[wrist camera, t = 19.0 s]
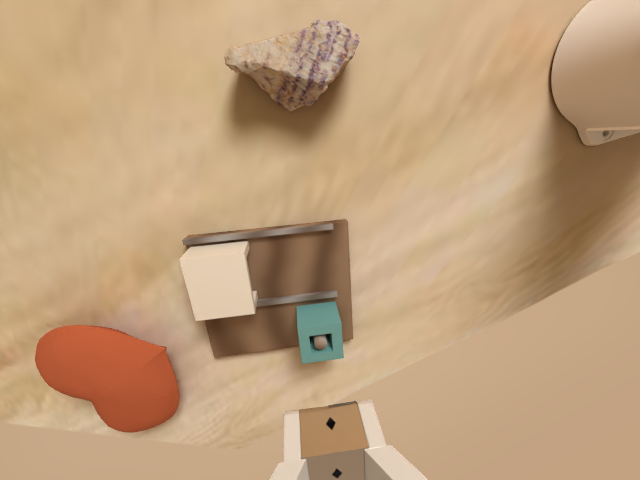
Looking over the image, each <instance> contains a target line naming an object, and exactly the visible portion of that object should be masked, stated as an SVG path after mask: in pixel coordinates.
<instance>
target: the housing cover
mask: <svg viewBox="0 0 640 480" xmlns="http://www.w3.org/2000/svg"><path fill="white" fill-rule="evenodd" d="M249 249H250V248H249V242H248V241H242V242H233V243H223V244H214V245H204V246H195V247H190V248H189V249H188V250H187V251H186V252H185V254H184V255H183V256H182V257H181V258H180V259H179V260H180V264H181V268H182V272H183V275H184V279H185V283H186V287H187V291H188V294H189V298H190V302H191V306H192V309H193V313H194V317H195V321H201V320H209V319H217V318H225V317H233V316H241V315H249V314H255V311H256V305H257V300H258V295H257V291H252V286H251V281H250V275H249V269H248V264H247V255H248V252H249Z"/></svg>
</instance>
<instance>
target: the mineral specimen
mask: <svg viewBox="0 0 640 480" xmlns="http://www.w3.org/2000/svg"><path fill="white" fill-rule="evenodd" d="M358 44H359V37H358V35H357V34H355V33H353V32H352V31H350V30H349V29H348V28H347V27H346V26H345V25H344V24H342V23H341V22H339V21H330V22H325V21H321V20H316V21H315V20H314V22H313V23H312V24H311V27H307V28H305V29H302V30H299V31H296V32H293V33H289V34H286V35H283V36H280V37H278V38H275V37H274V38H271V39H267V40H265V41H262V42H255V43H250V44H246V45H244V46H243V47H237V46H236V47H235V46H232V45H230V46H229V48H228V50H227V51H226V54H225V64H226V65H227V66H228V67H229V68H230V69H231V70H234V71H235V72H244V73H245V74H247V75H248V76H251V77H252V79H253V80H254V81H255V82H256V83H257V84H258V86H259V87H260V88H261V89H262V90H264V91H265V92H268V94H269V95H270V97H271V98H272V99H273V100H274V101H275V102H276V103H277V104H279V105H281V106H283V107H285V108H286V109H288V110H289V111H294V110H296V109H298V108H300V107H302V106H304V105H305V106H311V105H313V104H314V103H315V102H316V101H317V99H318V97H319V95H321V93H322V92H325V91H326V90H327V88H328V87H327V86H328V85H329V84H330V83H331V82H333V81H334V80H335V79H336V78H337V76H338V75H339V74H340V73H341V72H342V71H343V69H344V68H345V67H346V65H347V64H348V63H349V61H350V60H351V59H352V58H353V55H354V53H355V50H356V48H357V46H358Z"/></svg>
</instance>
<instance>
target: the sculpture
mask: <svg viewBox="0 0 640 480" xmlns="http://www.w3.org/2000/svg"><path fill="white" fill-rule="evenodd" d="M35 362H36V366H37V368H38V370H39V372H40V374H41V376H42V378H43V379H44V380H45V382H46V383H47V384H48V385H49V386H50V387H52V388H54V389H55V390H57V391H59V392H61V393H63V394H66V395H69V396H71V397H76V398H80V399H85V400H89V401H91V402H92V404H93V405H94V407H95V409H96V411H97V413H98V415H99V416H100V417H101V419H102V420H103V421H104V422H105V423H106V424H107V425H108V426H109V427H111V428H113V429H115V430H118V431H122V432H138V431H143V430H147V429H149V428H152V427H155V426H157V425H159V424H161V423H163V422H165V421H166V420H168V419H169V418H170V417H172V416H173V414H174V413H175V412H176V410H177V407H178V404H179V390H178V385H177V381H176V378H175V375H174V372H173V369H172V366H171V364H170V361H169V359H168V356H167V353H166V347H162V346H158V345H154V344H151V343H148V342H145V341H143V340H140V339H137V338H134V337H132V336H130V335H128V334H126V333H124V332H121V331H119V330H115V329H112V328H106V327H99V326H84V325H74V326H64V327H59V328H56V329H54V330H51V331H50V332H48V333H47V334H45V335H44V336H43V337H42V338H41V339H40V340H39V342H38V344H37V349H36V355H35Z"/></svg>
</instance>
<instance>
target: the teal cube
mask: <svg viewBox="0 0 640 480" xmlns="http://www.w3.org/2000/svg"><path fill="white" fill-rule="evenodd" d="M296 309H297V328H298V336H299V344H300V352H301V360H302V364H305V363H312V362H319V361H326V360H334V359H341V358H344V356H343V339H342V323H341V320H340V316H339V313H338V309H337V306H336V302H335V301H334V302H326V303H318V304H310V305H302V306H296ZM322 334H326V339H327V346H326V348H324V349H317V348H316V347H315V344H314V337H313V336H315V335H322Z"/></svg>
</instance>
